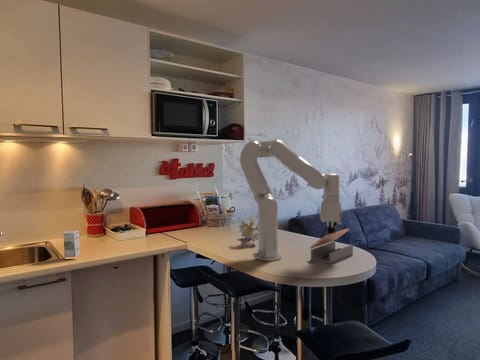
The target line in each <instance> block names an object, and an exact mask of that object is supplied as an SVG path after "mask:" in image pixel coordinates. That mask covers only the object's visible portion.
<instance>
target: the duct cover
mask: <svg viewBox="0 0 480 360" xmlns="http://www.w3.org/2000/svg"><path fill="white" fill-rule="evenodd" d="M349 231H350V229H349V228H345V229H341V230H338V231H335V233H331V234H326V235H324V236H322V238H319V240H317V241H316V242H315V243H313V244H312V245H311V246H309V249H310V250H311V249H314V248H317V247H320V246H323V245H326V244H329V243H332V242H335V240H337V239H338V238H341V237H342V236H343V235H344V234H345V233H347V232H349Z"/></svg>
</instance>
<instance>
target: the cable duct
mask: <svg viewBox="0 0 480 360" xmlns="http://www.w3.org/2000/svg"><path fill="white" fill-rule="evenodd" d="M340 248H341V249H339V250H336V251H333V250H335V249H336V241H332V242H329V243H326V244H324V245H321V246H318V247H315V248H312V249H311V248H310V260H311V261H315V262H320V263H325V264H329V265H332V264H335V263H336V262H339V261H342V260H344V259H346V258H349V257H350V255H351V256H353V255H354V253H353V252H354V245H353V244H349V245H347V246H344V247H340ZM330 251H333V252H331V253H329V258H326V259H321V255H322V254H325V253H328V252H330ZM352 254H353V255H352Z"/></svg>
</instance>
